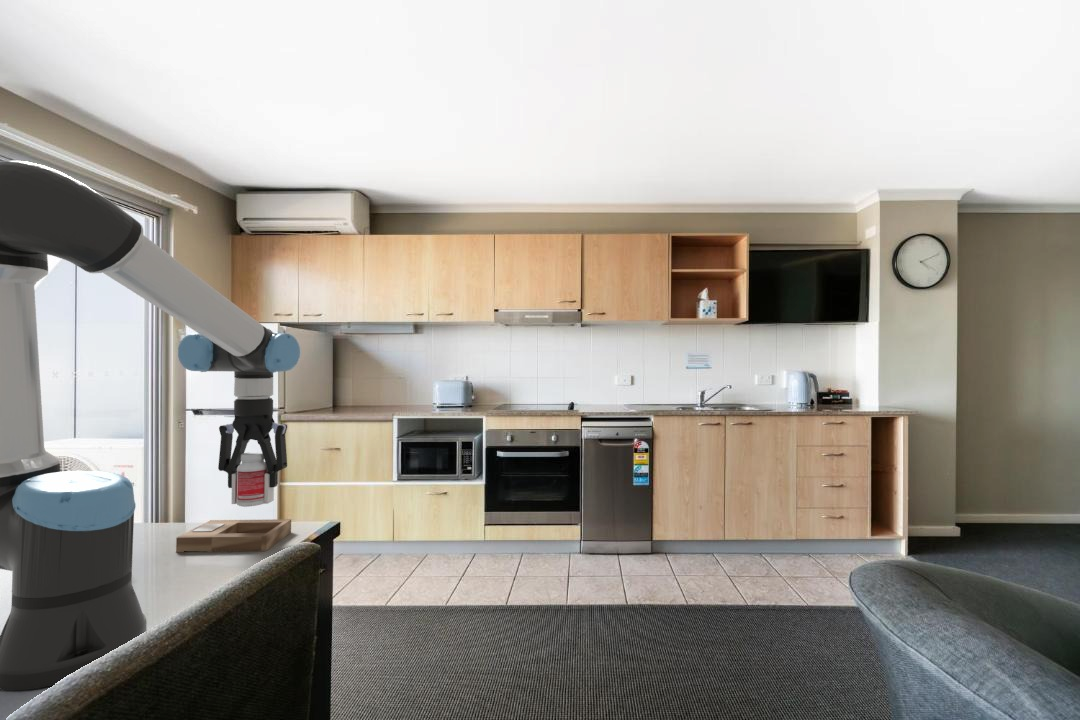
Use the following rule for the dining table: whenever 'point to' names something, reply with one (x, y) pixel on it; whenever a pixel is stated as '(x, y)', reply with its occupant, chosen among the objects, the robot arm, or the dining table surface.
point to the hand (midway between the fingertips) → (252, 502)
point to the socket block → (234, 535)
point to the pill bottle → (251, 479)
